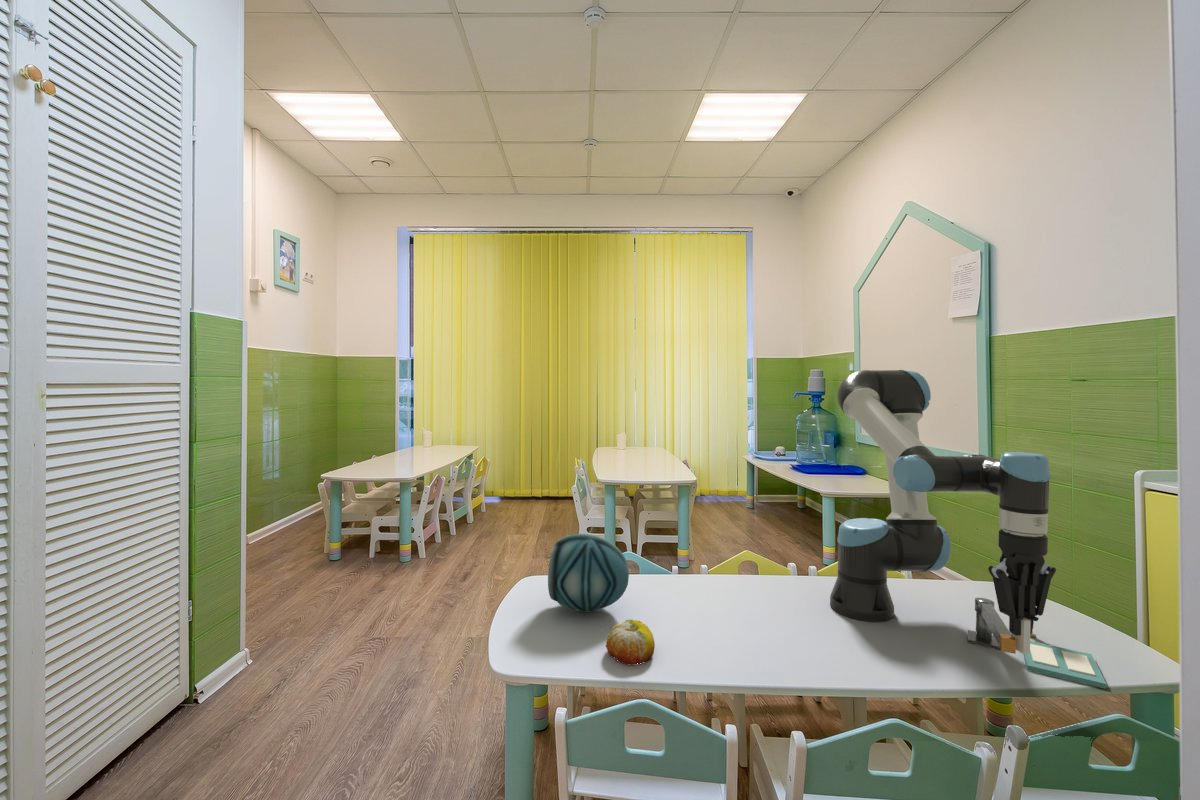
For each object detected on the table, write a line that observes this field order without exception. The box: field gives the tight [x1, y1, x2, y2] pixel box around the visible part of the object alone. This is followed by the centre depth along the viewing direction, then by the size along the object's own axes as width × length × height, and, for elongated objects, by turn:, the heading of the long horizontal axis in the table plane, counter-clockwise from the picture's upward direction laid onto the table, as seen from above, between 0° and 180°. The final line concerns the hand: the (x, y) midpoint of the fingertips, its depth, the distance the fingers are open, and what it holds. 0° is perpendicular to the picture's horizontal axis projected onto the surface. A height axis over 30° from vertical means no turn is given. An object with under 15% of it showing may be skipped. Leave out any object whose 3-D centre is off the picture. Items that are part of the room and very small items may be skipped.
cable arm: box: [974, 597, 1017, 655], centre depth 112 cm, size 22×4×3 cm, turn 154°
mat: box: [1022, 640, 1107, 690], centre depth 111 cm, size 12×14×1 cm
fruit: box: [605, 619, 656, 665], centre depth 114 cm, size 11×10×8 cm
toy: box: [547, 533, 630, 613], centre depth 136 cm, size 19×20×20 cm
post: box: [967, 611, 1002, 652], centre depth 121 cm, size 6×6×7 cm
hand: (1020, 650), depth 103 cm, fingers closed
